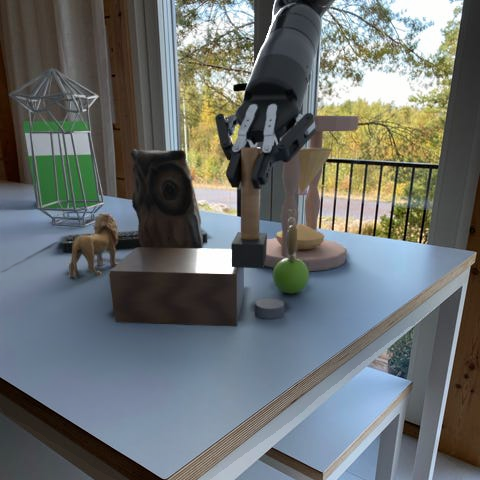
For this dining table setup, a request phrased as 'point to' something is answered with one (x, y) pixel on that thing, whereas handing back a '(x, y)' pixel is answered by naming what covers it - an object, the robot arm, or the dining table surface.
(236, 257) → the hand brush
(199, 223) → the owl
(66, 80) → the geometric lantern
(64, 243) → the keyboard
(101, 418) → the dining table surface
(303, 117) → the robot arm
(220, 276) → the brown wooden block
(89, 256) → the lion figurine
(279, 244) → the hourglass
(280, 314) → the grey short cylinder
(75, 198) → the hardback book
